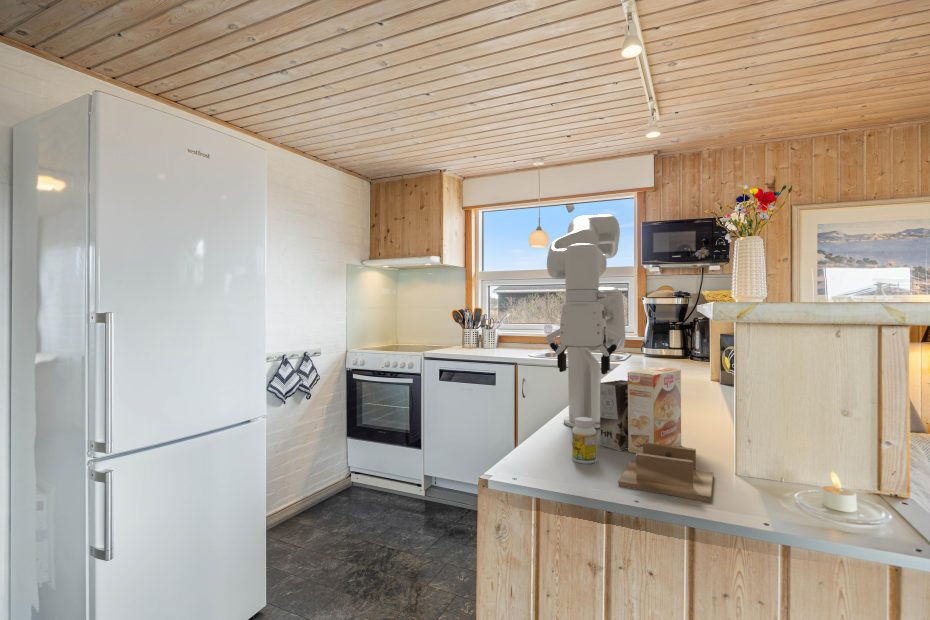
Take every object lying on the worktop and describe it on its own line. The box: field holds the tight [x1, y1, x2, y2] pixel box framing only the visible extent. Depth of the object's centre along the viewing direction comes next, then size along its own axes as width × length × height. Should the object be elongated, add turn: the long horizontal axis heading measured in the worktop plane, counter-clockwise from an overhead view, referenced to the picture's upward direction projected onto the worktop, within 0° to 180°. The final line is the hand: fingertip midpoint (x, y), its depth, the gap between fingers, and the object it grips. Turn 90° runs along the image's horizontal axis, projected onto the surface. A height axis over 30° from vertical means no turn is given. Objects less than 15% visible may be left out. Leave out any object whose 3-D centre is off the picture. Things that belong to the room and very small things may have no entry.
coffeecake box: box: [627, 366, 682, 455], centre depth 113 cm, size 15×7×20 cm, turn 132°
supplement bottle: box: [571, 417, 598, 465], centre depth 105 cm, size 5×5×10 cm
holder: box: [617, 442, 714, 503], centre depth 92 cm, size 14×16×6 cm
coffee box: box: [599, 379, 628, 452], centre depth 117 cm, size 9×6×16 cm
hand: (583, 372), depth 105 cm, fingers open, 9 cm apart
